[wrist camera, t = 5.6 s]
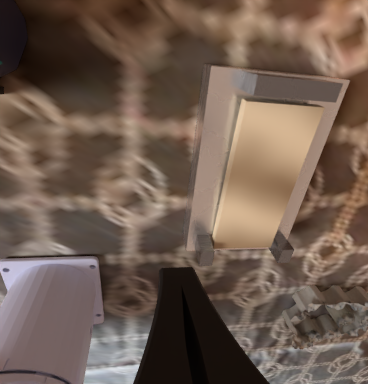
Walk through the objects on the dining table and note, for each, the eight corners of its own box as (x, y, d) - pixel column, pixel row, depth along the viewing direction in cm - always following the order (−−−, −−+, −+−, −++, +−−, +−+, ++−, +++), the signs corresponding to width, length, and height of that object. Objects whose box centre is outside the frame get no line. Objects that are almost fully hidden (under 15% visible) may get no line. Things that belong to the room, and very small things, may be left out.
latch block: (273, 233, 24) (295, 264, 21) (182, 235, 23) (189, 268, 19) (329, 76, 17) (375, 84, 14) (203, 63, 16) (220, 69, 12)
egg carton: (273, 318, 33) (289, 351, 29) (301, 278, 29) (322, 310, 26) (339, 320, 35) (360, 351, 32) (371, 284, 32) (399, 314, 28)
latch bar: (266, 240, 22) (270, 247, 21) (211, 241, 21) (213, 248, 20) (317, 104, 16) (325, 107, 15) (242, 98, 15) (246, 101, 14)
